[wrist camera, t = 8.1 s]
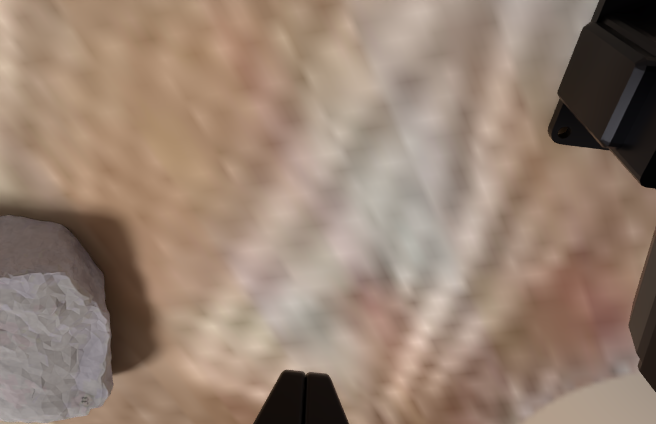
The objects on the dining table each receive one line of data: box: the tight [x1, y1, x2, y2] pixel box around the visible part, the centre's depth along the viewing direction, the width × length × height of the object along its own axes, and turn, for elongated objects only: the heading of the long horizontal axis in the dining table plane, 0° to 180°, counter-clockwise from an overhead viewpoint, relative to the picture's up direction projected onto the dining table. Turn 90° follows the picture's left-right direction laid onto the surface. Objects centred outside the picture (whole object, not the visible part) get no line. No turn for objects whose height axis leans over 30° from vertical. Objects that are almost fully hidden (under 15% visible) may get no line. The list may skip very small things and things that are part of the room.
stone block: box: [0, 215, 113, 423], centre depth 26 cm, size 12×5×10 cm
